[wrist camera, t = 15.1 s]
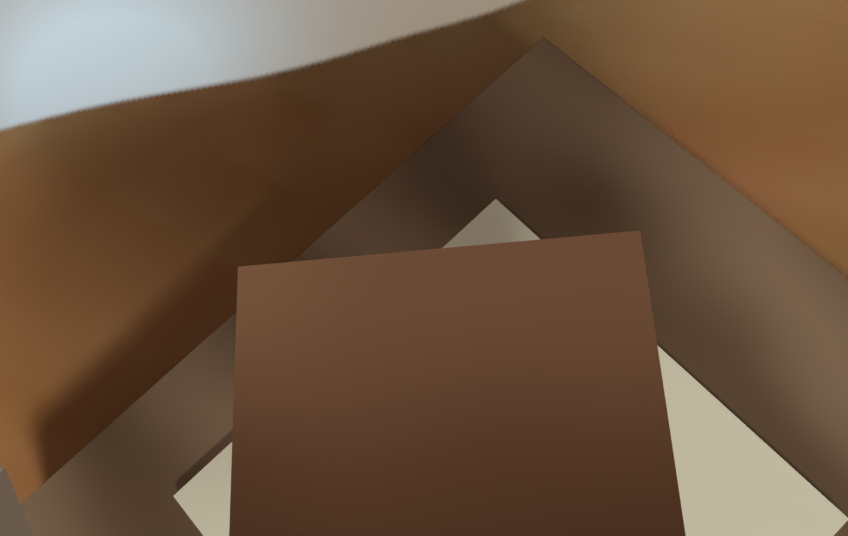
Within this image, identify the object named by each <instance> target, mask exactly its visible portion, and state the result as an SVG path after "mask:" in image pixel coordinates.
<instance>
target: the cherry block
mask: <svg viewBox="0 0 848 536" xmlns="http://www.w3.org/2000/svg"><path fill="white" fill-rule="evenodd" d="M229 536H686V535H685V528H684V521H683V514H682V508H681V501H680V494H679V487H678V481H677V474H676V467H675V460H674V454H673V447H672V440H671V434H670V427H669V420H668V413H667V407H666V400H665V393H664V386H663V380H662V373H661V366H660V360H659V353H658V346H657V339H656V333H655V326H654V319H653V312H652V306H651V299H650V292H649V286H648V279H647V272H646V265H645V259H644V252H643V245H642V238H641V232H640V231H629V232H618V233H607V234H596V235H584V236H573V237H562V238H551V239H540V240H529V241H518V242H507V243H495V244H484V245H473V246H462V247H451V248H440V249H429V250H418V251H406V252H395V253H384V254H373V255H362V256H351V257H340V258H328V259H317V260H306V261H295V262H284V263H273V264H262V265H251V266H239V267H238V278H237V309H236V340H235V371H234V402H233V433H232V465H231V496H230V527H229Z"/></svg>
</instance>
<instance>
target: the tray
mask: <svg viewBox="0 0 848 536" xmlns="http://www.w3.org/2000/svg"><path fill="white" fill-rule="evenodd" d="M629 231H640V232H641V238H642V245H643V252H644V259H645V265H646V272H647V279H648V286H649V292H650V299H651V306H652V312H653V319H654V326H655V333H656V339H657V346H658V353H659V360H660V366H661V373H662V380H663V386H664V393H665V400H666V407H667V413H668V420H669V427H670V434H671V440H672V447H673V454H674V460H675V467H676V474H677V481H678V487H679V494H680V501H681V508H682V514H683V521H684V528H685V535H686V536H848V278H847V277H846V276H845V275H843V274H842V273H841V272H840V271H838V270H837V269H836V268H835V267H833V266H832V265H831V264H829V263H828V262H827V261H826V260H824V259H823V258H822V257H821V256H819V255H818V254H817V253H816V252H814V251H813V250H812V249H811V248H809V247H808V246H807V245H805V244H804V243H803V242H802V241H800V240H799V239H798V238H797V237H795V236H794V235H793V234H792V233H790V232H789V231H788V230H787V229H785V228H784V227H783V226H782V225H780V224H779V223H778V222H776V221H775V220H774V219H773V218H771V217H770V216H769V215H768V214H766V213H765V212H764V211H763V210H761V209H760V208H759V207H758V206H756V205H755V204H754V203H752V202H751V201H750V200H749V199H747V198H746V197H745V196H744V195H742V194H741V193H740V192H739V191H737V190H736V189H735V188H734V187H732V186H731V185H730V184H728V183H727V182H726V181H725V180H723V179H722V178H721V177H720V176H718V175H717V174H716V173H715V172H713V171H712V170H711V169H710V168H708V167H707V166H706V165H705V164H703V163H702V162H701V161H699V160H698V159H697V158H696V157H694V156H693V155H692V154H691V153H689V152H688V151H687V150H686V149H684V148H683V147H682V146H681V145H679V144H678V143H677V142H675V141H674V140H673V139H672V138H670V137H669V136H668V135H667V134H665V133H664V132H663V131H662V130H660V129H659V128H658V127H657V126H655V125H654V124H653V123H651V122H650V121H649V120H648V119H646V118H645V117H644V116H643V115H641V114H640V113H639V112H638V111H636V110H635V109H634V108H633V107H631V106H630V105H629V104H628V103H626V102H625V101H624V100H622V99H621V98H620V97H619V96H617V95H616V94H615V93H614V92H612V91H611V90H610V89H609V88H607V87H606V86H605V85H604V84H602V83H601V82H600V81H598V80H597V79H596V78H595V77H593V76H592V75H591V74H590V73H588V72H587V71H586V70H585V69H583V68H582V67H581V66H580V65H578V64H577V63H576V62H574V61H573V60H572V59H571V58H569V57H568V56H567V55H566V54H564V53H563V52H562V51H561V50H559V49H558V48H557V47H556V46H554V45H553V44H552V43H551V42H549V41H548V40H547V39H545V38H544V37H543V38H542V39H541V40H540V41H538V42H537V43H536V44H535V45H534V46H533V47H532V48H531V49H530V50H528V51H527V52H526V53H525V54H524V55H523V56H522V57H521V58H519V59H518V60H517V61H516V62H515V63H514V64H513V65H512V66H510V67H509V68H508V69H507V70H506V71H505V72H504V73H503V74H502V75H500V76H499V77H498V78H497V79H496V80H495V81H494V82H493V83H491V84H490V85H489V86H488V87H487V88H486V89H485V90H484V91H482V92H481V93H480V94H479V95H478V96H477V97H476V98H475V99H474V100H472V101H471V102H470V103H469V104H468V105H467V106H466V107H465V108H463V109H462V110H461V111H460V112H459V113H458V114H457V115H456V116H454V117H453V118H452V119H451V120H450V121H449V122H448V123H447V124H446V125H444V126H443V127H442V128H441V129H440V130H439V131H438V132H437V133H435V134H434V135H433V136H432V137H431V138H430V139H429V140H428V141H427V142H425V143H424V144H423V145H422V146H421V147H420V148H419V149H418V150H416V151H415V152H414V153H413V154H412V155H411V156H410V157H409V158H407V159H406V160H405V161H404V162H403V163H402V164H401V165H400V166H399V167H397V168H396V169H395V170H394V171H393V172H392V173H391V174H390V175H388V176H387V177H386V178H385V179H384V180H383V181H382V182H381V183H379V184H378V185H377V186H376V187H375V188H374V189H373V190H372V191H371V192H369V193H368V194H367V195H366V196H365V197H364V198H363V199H362V200H360V201H359V202H358V203H357V204H356V205H355V206H354V207H353V208H351V209H350V210H349V211H348V212H347V213H346V214H345V215H344V216H343V217H341V218H340V219H339V220H338V221H337V222H336V223H335V224H334V225H332V226H331V227H330V228H329V229H328V230H327V231H326V232H325V233H323V234H322V235H321V236H320V237H319V238H318V239H317V240H316V241H315V242H313V243H312V244H311V245H310V246H309V247H308V248H307V249H306V250H304V251H303V252H302V253H301V254H300V255H299V256H298V257H297V258H296V259H294V260H293V261H292V262H295V261H306V260H317V259H328V258H340V257H351V256H362V255H373V254H384V253H395V252H406V251H418V250H429V249H440V248H451V247H462V246H473V245H484V244H495V243H507V242H518V241H529V240H540V239H551V238H562V237H573V236H584V235H596V234H607V233H618V232H629ZM235 340H236V312H235V313H234V314H233V315H232V316H231V317H229V318H228V319H227V320H226V321H225V322H224V323H223V324H222V325H220V326H219V327H218V328H217V329H216V330H215V331H214V332H213V333H212V334H210V335H209V336H208V337H207V338H206V339H205V340H204V341H203V342H201V343H200V344H199V345H198V346H197V347H196V348H195V349H194V350H193V351H191V352H190V353H189V354H188V355H187V356H186V357H185V358H184V359H182V360H181V361H180V362H179V363H178V364H177V365H176V366H175V367H173V368H172V369H171V370H170V371H169V372H168V373H167V374H166V375H165V376H163V377H162V378H161V379H160V380H159V381H158V382H157V383H156V384H154V385H153V386H152V387H151V388H150V389H149V390H148V391H147V392H145V393H144V394H143V395H142V396H141V397H140V398H139V399H138V400H137V401H135V402H134V403H133V404H132V405H131V406H130V407H129V408H128V409H126V410H125V411H124V412H123V413H122V414H121V415H120V416H119V417H117V418H116V419H115V420H114V421H113V422H112V423H111V424H110V425H109V426H107V427H106V428H105V429H104V430H103V431H102V432H101V433H100V434H98V435H97V436H96V437H95V438H94V439H93V440H92V441H91V442H89V443H88V444H87V445H86V446H85V447H84V448H83V449H82V450H81V451H79V452H78V453H77V454H76V455H75V456H74V457H73V458H72V459H70V460H69V461H68V462H67V463H66V464H65V465H64V466H63V467H62V468H60V469H59V470H58V471H57V472H56V473H55V474H54V475H53V476H51V477H50V478H49V479H48V480H47V481H46V482H45V483H44V484H42V485H41V486H40V487H39V488H38V489H37V490H36V491H35V492H34V493H32V494H31V495H30V496H29V497H28V498H27V499H26V500H25V501H23V502H22V503H21V504H20V505H21V507H22V509H23V512H24V514H25V516H26V519H27V521H28V523H29V526H30V528H31V530H32V533H33V535H34V536H229V527H230V496H231V465H232V433H233V402H234V371H235Z"/></svg>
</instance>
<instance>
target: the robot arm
mask: <svg viewBox="0 0 848 536" xmlns="http://www.w3.org/2000/svg"><path fill="white" fill-rule="evenodd" d="M0 536H34V535H33V533H32V530H31V528H30V526H29V523H28V521H27V519H26V516H25V514H24V512H23V509H22V507H21V505H20V502H19V500H18V498H17V495H16V493H15V491H14V488H13V486H12V484H11V481H10V479H9V477H8V474H7V472H6V470H5V468H0Z"/></svg>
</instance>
